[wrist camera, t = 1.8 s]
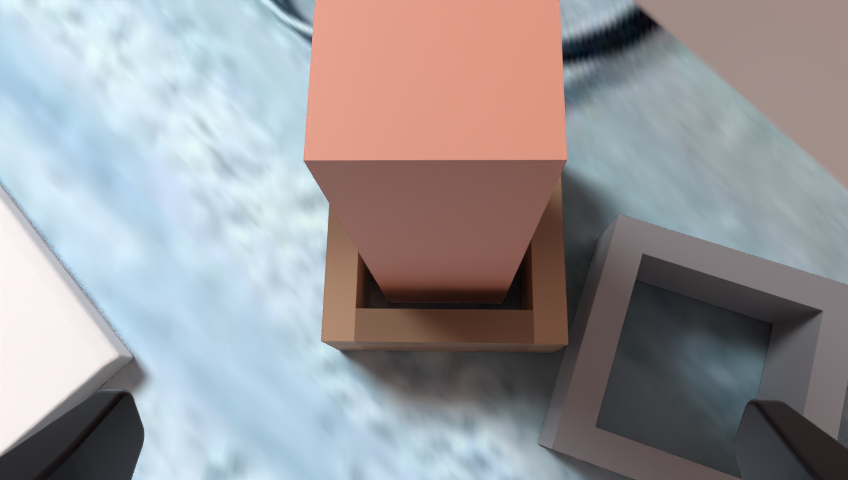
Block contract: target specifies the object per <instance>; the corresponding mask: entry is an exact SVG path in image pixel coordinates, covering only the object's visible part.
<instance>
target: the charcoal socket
mask: <svg viewBox="0 0 848 480" xmlns="http://www.w3.org/2000/svg"><path fill="white" fill-rule="evenodd" d="M635 280H638V281H641V282H644V283H647V284H650V285H653V286H656V287H659V288H663V289H666V290H669V291H672V292H675V293H678V294H681V295H684V296H687V297H690V298H694V299H697V300H700V301H703V302H706V303H709V304H712V305H715V306H718V307H721V308H725V309H728V310H731V311H734V312H737V313H740V314H743V315H746V316H749V317H752V318H756V319H759V320H762V321H765V322H768V323H771V324H773V327H772V332H771V336H770V341H769V346H768V350H767V355H766V360H765V365H764V369H763V374H762V379H761V383H760V388H759V393H758V397H757V399H776V400H781V401H783V402H785V403H786V404H788V405H789V406H790V407H792V408H793V409H795V410H796V411H797V412H799V413H800V414H801V415H803V416H804V417H805V418H807V419H808V420H810V421H811V422H812V423H814V424H815V425H816V426H818V427H819V428H821V429H822V430H823V431H825V432H826V433H827V434H829V435H830V436H832V437H833V438H834V439H836V440H837V439H838V433H839V428H840V422H841V417H842V411H843V405H844V400H845V394H846V389H847V383H848V285H847V284H844V283H840V282H837V281H834V280H831V279H828V278H824V277H821V276H818V275H815V274H811V273H808V272H805V271H802V270H798V269H795V268H792V267H789V266H786V265H782V264H779V263H776V262H773V261H769V260H766V259H763V258H760V257H756V256H753V255H750V254H747V253H744V252H740V251H737V250H734V249H731V248H727V247H724V246H721V245H718V244H715V243H711V242H708V241H705V240H702V239H698V238H695V237H692V236H689V235H685V234H682V233H679V232H676V231H673V230H669V229H666V228H663V227H660V226H656V225H653V224H650V223H647V222H643V221H640V220H637V219H634V218H631V217H627V216H624V215H621V214H619V215H618V216H617V217H616V218H615V219H614V220H613V222H612V223H611V224H610V225H609V226H608V228H607V229H606V230H605V231H604V232H603V234H602V235H601V236H600V237H599V238H598V240H597V243H596V246H595V250H594V253H593V257H592V260H591V264H590V267H589V270H588V274H587V277H586V281H585V284H584V287H583V291H582V294H581V298H580V301H579V305H578V308H577V311H576V315H575V318H574V322H573V325H572V328H571V332H570V335H569V339H568V345H567V346H566V349H565V352H564V356H563V359H562V363H561V366H560V369H559V373H558V376H557V380H556V383H555V387H554V390H553V393H552V397H551V400H550V404H549V407H548V410H547V414H546V417H545V421H544V424H543V427H542V431H541V434H540V438H539V441H538V444H540V445H542V446H545V447H547V448H550V449H552V450H555V451H558V452H561V453H563V454H566V455H569V456H572V457H574V458H577V459H580V460H583V461H585V462H588V463H591V464H593V465H596V466H599V467H602V468H604V469H607V470H610V471H613V472H615V473H618V474H621V475H624V476H626V477H629V478H632V479H635V480H743V479H742V476H741V477H740V478H737V477H734V476H732V475H729V474H726V473H723V472H720V471H718V470H715V469H712V468H709V467H706V466H704V465H701V464H698V463H695V462H692V461H690V460H687V459H684V458H681V457H678V456H676V455H673V454H670V453H667V452H664V451H662V450H659V449H656V448H653V447H650V446H648V445H645V444H642V443H639V442H636V441H634V440H631V439H628V438H625V437H622V436H620V435H617V434H614V433H611V432H608V431H606V430H603V429H600V428H597V427H595V426H596V422H597V419H598V415H599V411H600V408H601V404H602V400H603V397H604V393H605V389H606V386H607V382H608V378H609V375H610V371H611V367H612V364H613V360H614V356H615V353H616V349H617V345H618V342H619V338H620V334H621V331H622V327H623V323H624V320H625V316H626V312H627V309H628V305H629V301H630V298H631V294H632V290H633V287H634V283H635Z"/></svg>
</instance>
